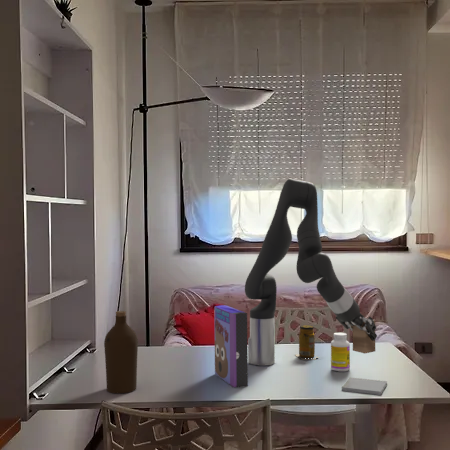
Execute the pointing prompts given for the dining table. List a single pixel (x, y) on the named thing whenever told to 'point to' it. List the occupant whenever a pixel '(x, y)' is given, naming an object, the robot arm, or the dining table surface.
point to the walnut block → (362, 341)
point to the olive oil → (121, 356)
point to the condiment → (306, 343)
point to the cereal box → (231, 345)
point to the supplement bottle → (340, 353)
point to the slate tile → (364, 386)
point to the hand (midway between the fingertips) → (367, 337)
